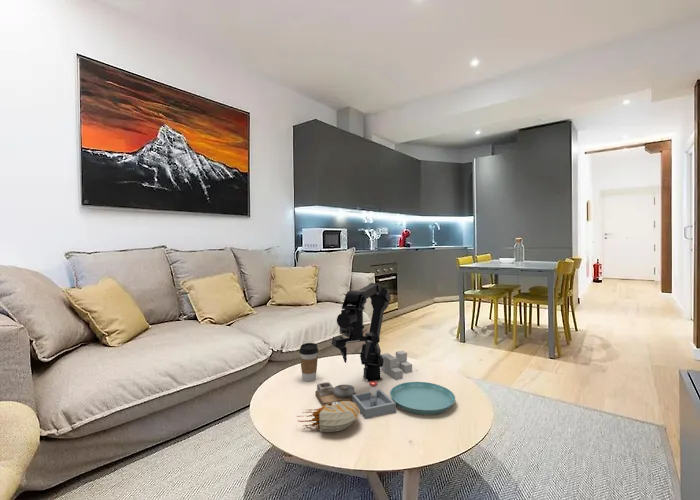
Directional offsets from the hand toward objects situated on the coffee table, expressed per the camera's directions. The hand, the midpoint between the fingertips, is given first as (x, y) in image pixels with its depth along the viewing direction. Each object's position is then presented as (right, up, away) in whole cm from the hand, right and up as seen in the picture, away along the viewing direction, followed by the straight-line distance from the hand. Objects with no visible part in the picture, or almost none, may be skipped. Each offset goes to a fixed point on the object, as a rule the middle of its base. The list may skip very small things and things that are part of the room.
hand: (356, 360), depth 145 cm
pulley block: (-8, -13, -4) cm, 16 cm away
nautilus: (-10, -15, -24) cm, 30 cm away
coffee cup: (-20, -13, +14) cm, 28 cm away
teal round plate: (+25, -14, -8) cm, 30 cm away
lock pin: (+6, -13, -12) cm, 19 cm away
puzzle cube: (+20, -12, +20) cm, 31 cm away
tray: (+6, -14, -12) cm, 19 cm away
